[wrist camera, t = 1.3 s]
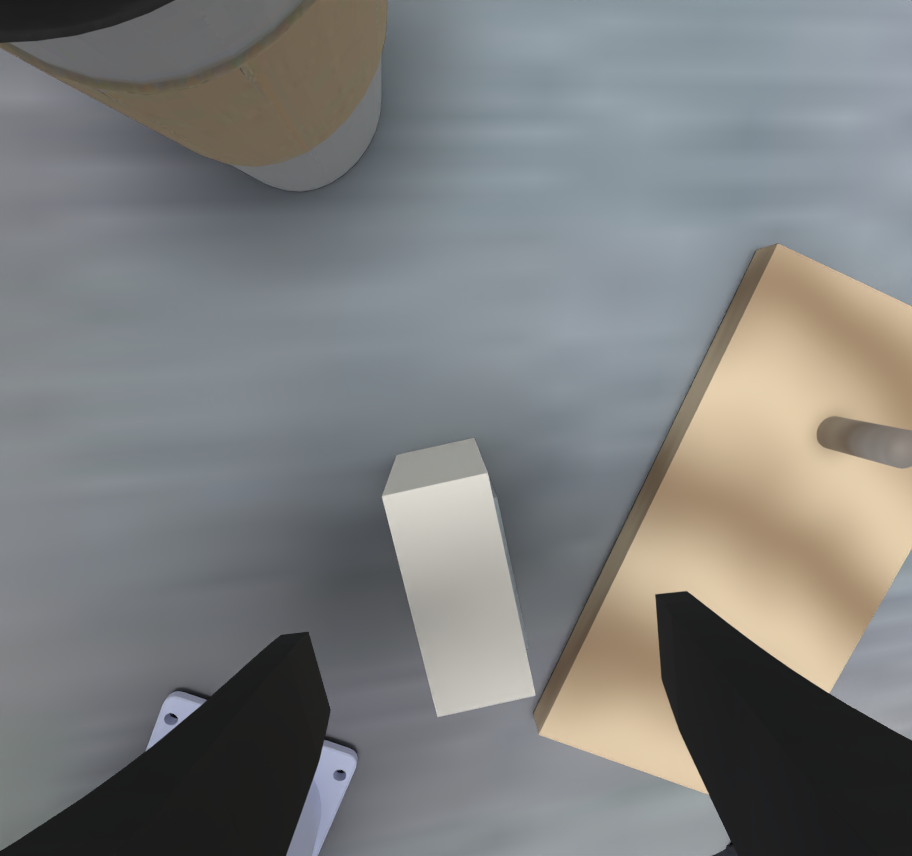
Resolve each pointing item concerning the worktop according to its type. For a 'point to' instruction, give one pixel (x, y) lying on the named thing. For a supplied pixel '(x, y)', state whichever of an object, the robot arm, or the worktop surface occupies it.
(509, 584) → the white rectangular block
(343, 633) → the worktop surface
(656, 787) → the worktop surface
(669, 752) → the ledge
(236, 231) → the worktop surface
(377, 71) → the coffee cup
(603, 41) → the worktop surface
